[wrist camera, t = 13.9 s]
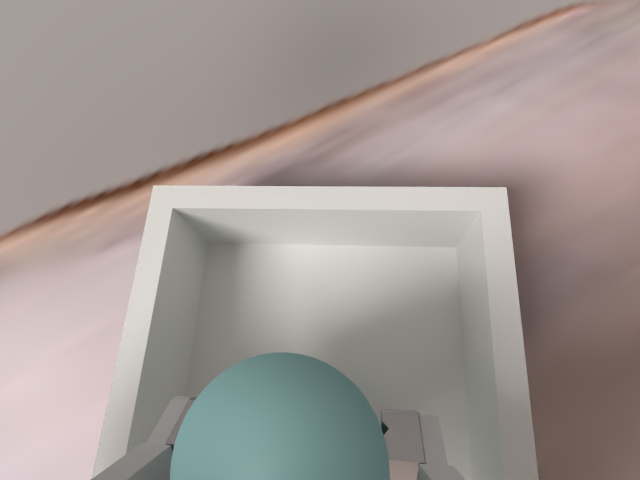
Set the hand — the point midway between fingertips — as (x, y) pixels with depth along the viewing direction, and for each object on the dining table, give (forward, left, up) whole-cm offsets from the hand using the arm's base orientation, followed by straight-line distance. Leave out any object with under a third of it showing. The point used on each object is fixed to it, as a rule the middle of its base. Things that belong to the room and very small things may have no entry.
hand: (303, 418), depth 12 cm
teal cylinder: (0, +1, -4) cm, 4 cm away
